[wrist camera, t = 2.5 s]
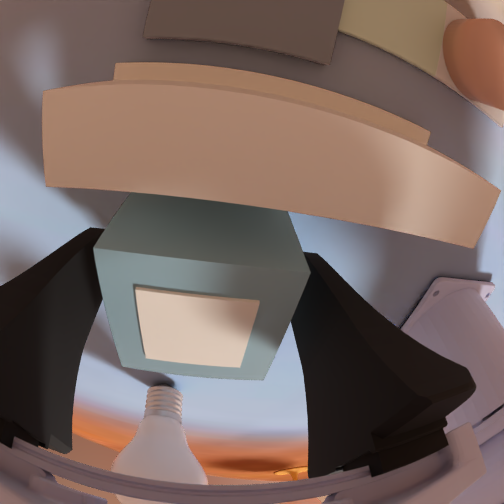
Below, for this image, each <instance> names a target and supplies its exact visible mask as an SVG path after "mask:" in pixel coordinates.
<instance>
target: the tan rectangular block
mask: <svg viewBox="0 0 504 504" xmlns="http://www.w3.org/2000/svg"><path fill="white" fill-rule="evenodd" d="M430 134H431V132H430V131H428V130H426V129H424V128H422V127H420V126H418V125H416V124H414V123H412V122H410V121H408V120H405V119H403V118H401V117H399V116H396V115H394V114H392V113H389V112H387V111H385V110H382V109H380V108H377V107H375V106H372V105H370V104H367V103H364V102H362V101H359V100H356V99H353V98H351V97H348V96H345V95H342V94H339V93H336V92H332V91H329V90H326V89H323V88H319V87H316V86H312V85H308V84H305V83H301V82H297V81H293V80H289V79H285V78H280V77H276V76H271V75H266V74H261V73H256V72H250V71H244V70H238V69H231V68H224V67H216V66H207V65H196V64H183V63H160V62H130V63H116V64H115V71H114V78H113V80H112V81H102V82H93V83H86V84H79V85H72V86H67V87H61V88H56V89H51V90H46V91H43V104H42V142H43V161H44V173H45V183H46V187H66V188H84V189H99V190H113V191H125V192H137V193H147V194H158V195H168V196H177V197H186V198H195V199H203V200H212V201H220V202H227V203H235V204H242V205H249V206H256V207H263V208H270V209H277V210H283V211H290V212H296V213H302V214H308V215H314V216H320V217H326V218H331V219H337V220H342V221H348V222H353V223H358V224H364V225H369V226H374V227H379V228H384V229H389V230H394V231H398V232H403V233H408V234H412V235H417V236H421V237H426V238H430V239H435V240H439V241H443V242H447V243H451V244H456V245H460V246H464V247H468V248H472V249H474V247H475V245H476V243H477V241H478V239H479V237H480V235H481V233H482V231H483V229H484V227H485V225H486V223H487V221H488V219H489V217H490V215H491V213H492V211H493V208H494V206H495V204H496V201H497V199H498V197H499V194H500V192H501V190H499V189H498V188H497V187H495V186H494V185H492V184H491V183H489V182H488V181H486V180H485V179H483V178H482V177H480V176H479V175H477V174H476V173H474V172H473V171H471V170H469V169H468V168H466V167H465V166H463V165H461V164H460V163H458V162H456V161H454V160H453V159H451V158H449V157H447V156H446V155H444V154H442V153H440V152H438V151H436V150H435V149H433V148H431V147H429V146H427V143H428V140H429V137H430Z"/></svg>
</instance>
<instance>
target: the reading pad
mask: <svg viewBox="0 0 504 504" xmlns="http://www.w3.org/2000/svg"><path fill="white" fill-rule="evenodd" d="M344 1H345V0H151V2H150V6H149V10H148V14H147V19H146V23H145V28H144V32H143V38H146V39H173V40H193V41H205V42H215V43H224V44H231V45H238V46H245V47H251V48H256V49H262V50H267V51H271V52H276V53H281V54H285V55H289V56H293V57H297V58H301V59H304V60H308V61H312V62H315V63H318V64H322V65H330V62H331V58H332V54H333V50H334V45H335V41H336V37H337V32H338V28H339V24H340V19H341V15H342V10H343V6H344Z"/></svg>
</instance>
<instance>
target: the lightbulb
mask: <svg viewBox="0 0 504 504" xmlns="http://www.w3.org/2000/svg"><path fill="white" fill-rule="evenodd" d="M147 393H148V394H147V400H146V403H147V404H146V405H145V407H146V409H145V413H144V418H143V419H142V421H141V422H140V424H139V426H138V429H137V432H136V434H135V436H134V438H133V439H132V440H131V442H130V443H129V444H128V445H127V446H125V447H124V448H123V449H122V450H121V451H120V453H119V454H118V455H117V456H116V458H115V460H114V462H113V464H112V467H111V471H112V472H116V473H120V474H125V475H130V476H135V477H140V478H146V479H153V480H160V481H167V482H176V483H188V484H203V485H208V480H207V476H206V474H205V471H204V469H203V468H202V466H201V464H200V463H199V461H198V460H197V459H196V457H195V456H194V455H193V453H192V452H191V450H190V448H189V446H188V444H187V440H186V434H185V430H184V428H183V426H182V424H181V422H182V418H181V416H182V413H181V411H182V408H181V406H182V400H183V399H182V398H183V395H182V394H181V393H180V392H179V391H178V390H176V389H175V388H173V387H171V386H169V385H165V384H162V385H157V386H153V387H150V388H149V389H148V391H147ZM115 495H116V497H117V498H118V500H119V502H120V503H121V504H171V503H163V502H156V501H149V500H143V499H138V498H132V497H127V496H123V495H118V494H115Z"/></svg>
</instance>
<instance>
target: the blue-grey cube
mask: <svg viewBox="0 0 504 504" xmlns="http://www.w3.org/2000/svg"><path fill="white" fill-rule="evenodd" d="M93 250H94V256H95V262H96V268H97V273H98V278H99V283H100V288H101V293H102V297H103V301H104V306H105V310H106V314H107V318H108V321H109V325H110V329H111V332H112V336H113V339H114V343H115V346H116V349H117V353H118V356H119V359H120V362H121V365H122V367H128V368H133V369H139V370H146V371H152V372H159V373H167V374H175V375H184V376H193V377H204V378H218V379H235V380H264V378H265V376H266V374H267V372H268V370H269V368H270V366H271V364H272V361H273V359H274V357H275V355H276V353H277V351H278V348H279V346H280V344H281V342H282V339H283V337H284V335H285V333H286V330H287V328H288V326H289V324H290V321H291V319H292V317H293V314H294V312H295V310H296V307H297V305H298V302H299V300H300V298H301V295H302V293H303V290H304V288H305V285H306V283H307V280H308V278H309V275H310V273H311V272H310V269H309V267H308V264H307V261H306V259H305V256H304V253H303V251H302V248H301V245H300V243H299V240H298V237H297V235H296V232H295V230H294V227H293V224H292V222H291V219H290V217H289V214H288V212H287V211H283V210H277V209H270V208H263V207H256V206H249V205H242V204H235V203H227V202H220V201H212V200H203V199H195V198H186V197H177V196H168V195H158V194H147V193H137V192H131V193H130V195H129V196H128V197H127V199H126V200H125V201H124V203H123V204H122V205H121V207H120V208H119V210H118V211H117V213H116V214H115V215H114V217H113V218H112V220H111V221H110V223H109V224H108V226H107V227H106V229H105V230H104V232H103V233H102V235H101V236H100V238H99V239H98V241H97V242H96V244H95V246H94V247H93Z"/></svg>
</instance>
